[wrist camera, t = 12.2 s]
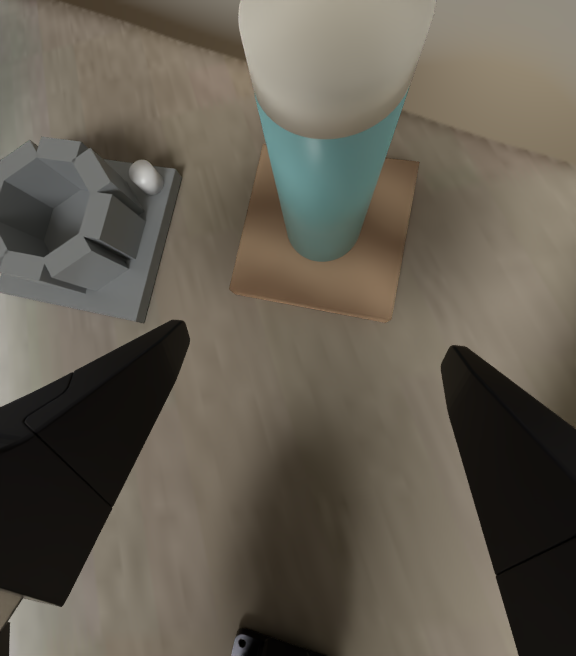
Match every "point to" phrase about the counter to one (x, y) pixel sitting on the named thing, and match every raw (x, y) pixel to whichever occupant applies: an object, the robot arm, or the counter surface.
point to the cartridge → (330, 104)
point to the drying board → (331, 276)
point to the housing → (83, 227)
